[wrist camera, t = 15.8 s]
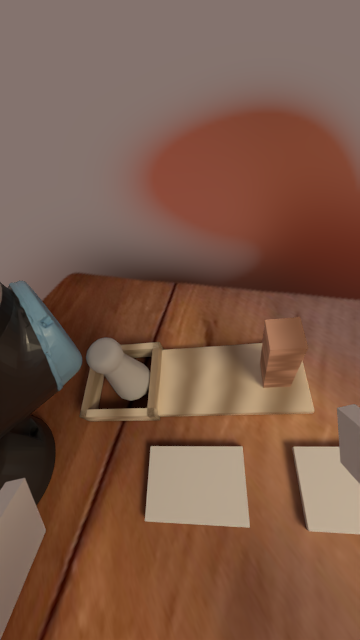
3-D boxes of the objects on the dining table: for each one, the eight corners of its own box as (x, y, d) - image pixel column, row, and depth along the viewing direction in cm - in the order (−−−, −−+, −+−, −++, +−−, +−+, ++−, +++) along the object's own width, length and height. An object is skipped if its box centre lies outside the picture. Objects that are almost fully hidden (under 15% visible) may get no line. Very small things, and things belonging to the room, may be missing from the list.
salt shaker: (144, 361, 43) (110, 320, 33) (162, 387, 40) (132, 352, 29) (114, 383, 42) (69, 348, 32) (131, 412, 39) (88, 384, 28)
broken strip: (148, 520, 32) (144, 521, 31) (153, 447, 36) (150, 446, 35) (459, 538, 26) (467, 540, 25) (421, 448, 30) (427, 447, 29)
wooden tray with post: (89, 421, 40) (30, 396, 29) (103, 354, 45) (57, 313, 35) (313, 417, 34) (346, 384, 23) (295, 341, 39) (314, 286, 29)
